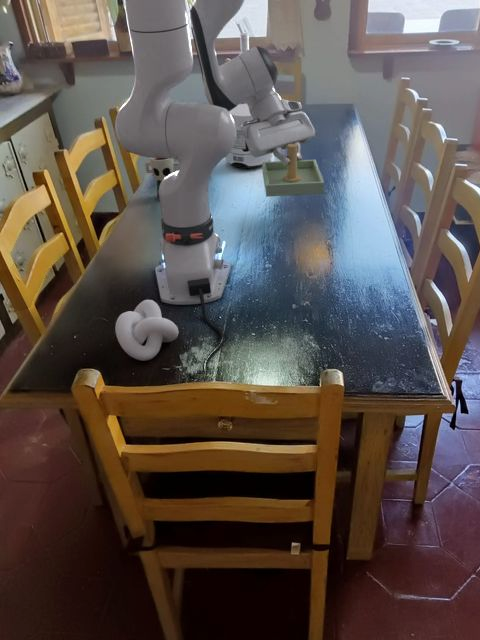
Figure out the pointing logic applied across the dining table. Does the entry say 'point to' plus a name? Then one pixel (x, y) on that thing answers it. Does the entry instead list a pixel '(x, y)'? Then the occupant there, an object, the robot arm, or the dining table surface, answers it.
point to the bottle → (244, 42)
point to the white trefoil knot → (144, 330)
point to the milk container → (243, 142)
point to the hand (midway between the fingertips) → (293, 162)
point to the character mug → (161, 168)
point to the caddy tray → (292, 188)
